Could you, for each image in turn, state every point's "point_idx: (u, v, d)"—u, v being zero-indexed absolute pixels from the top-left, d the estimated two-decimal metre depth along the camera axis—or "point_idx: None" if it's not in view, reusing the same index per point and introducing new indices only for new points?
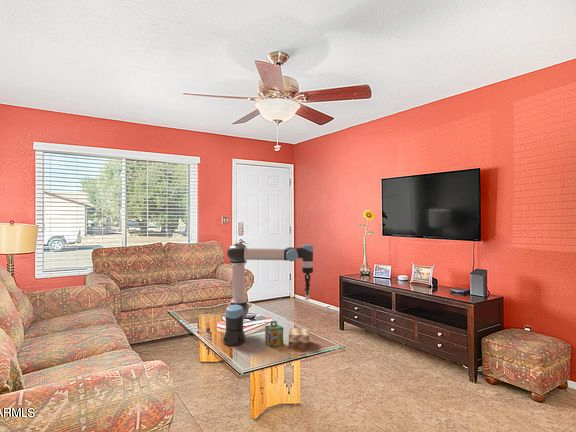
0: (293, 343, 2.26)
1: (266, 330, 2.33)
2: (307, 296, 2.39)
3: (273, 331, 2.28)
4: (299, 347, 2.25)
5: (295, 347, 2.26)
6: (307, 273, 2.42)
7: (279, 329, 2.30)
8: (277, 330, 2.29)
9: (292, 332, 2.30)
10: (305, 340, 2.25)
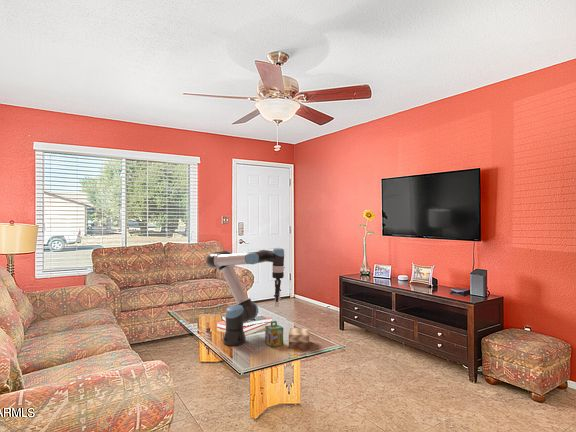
0: (293, 343, 2.26)
1: (266, 330, 2.33)
2: (277, 303, 2.27)
3: (273, 331, 2.28)
4: (299, 347, 2.25)
5: (295, 347, 2.26)
6: (277, 278, 2.31)
7: (279, 329, 2.30)
8: (277, 330, 2.29)
9: (292, 332, 2.30)
10: (305, 340, 2.25)
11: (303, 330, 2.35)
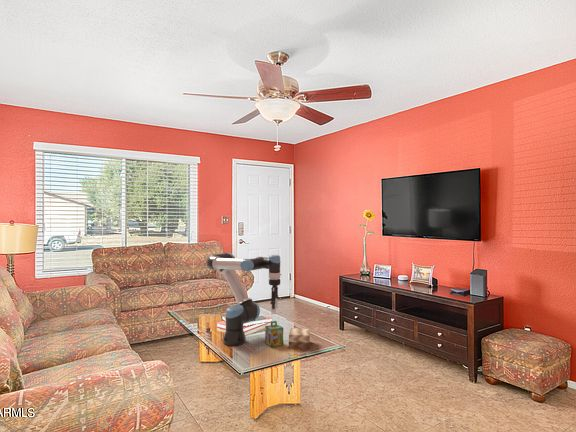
0: (293, 343, 2.26)
1: (266, 330, 2.33)
2: (273, 310, 2.26)
3: (273, 331, 2.28)
4: (299, 347, 2.25)
5: (295, 347, 2.26)
6: (273, 285, 2.29)
7: (279, 329, 2.30)
8: (277, 330, 2.29)
9: (292, 332, 2.30)
10: (305, 340, 2.25)
11: (303, 330, 2.34)
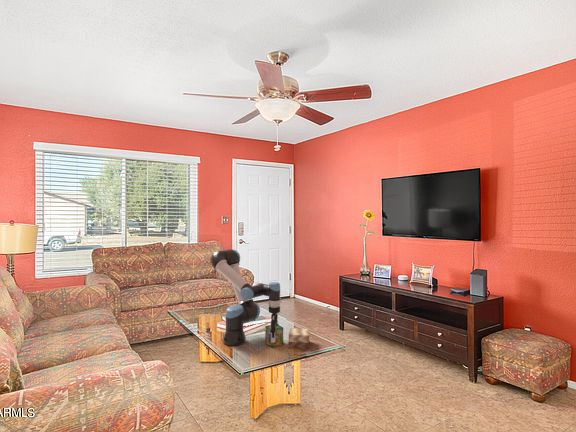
0: (293, 343, 2.26)
1: (266, 330, 2.33)
2: (273, 338, 2.26)
3: None
4: (299, 347, 2.25)
5: (295, 347, 2.26)
6: (273, 313, 2.29)
7: (279, 329, 2.30)
8: (277, 330, 2.29)
9: (292, 332, 2.30)
10: (305, 340, 2.25)
11: (303, 330, 2.35)
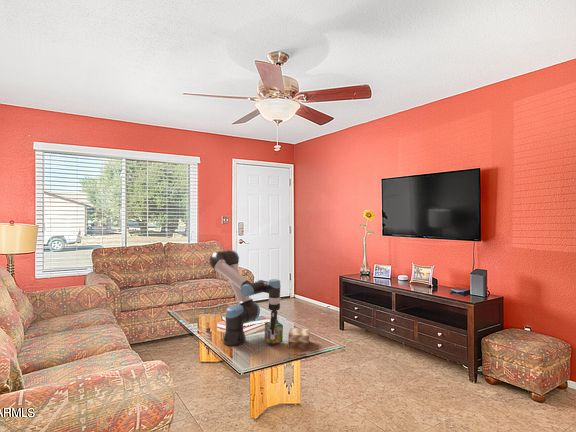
0: (293, 343, 2.26)
1: (266, 327, 2.33)
2: (272, 335, 2.26)
3: None
4: (299, 347, 2.25)
5: (295, 347, 2.26)
6: (273, 310, 2.29)
7: (278, 326, 2.30)
8: (277, 327, 2.29)
9: (292, 332, 2.31)
10: (305, 340, 2.25)
11: (303, 330, 2.34)
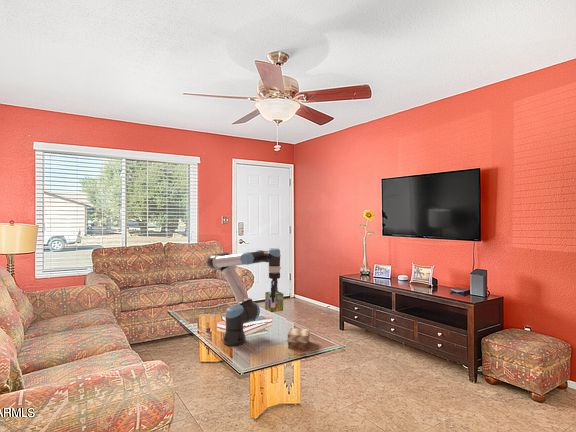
0: (292, 343, 2.25)
1: (266, 296, 2.33)
2: (273, 303, 2.26)
3: None
4: (298, 347, 2.25)
5: (294, 347, 2.25)
6: (273, 279, 2.29)
7: (279, 295, 2.30)
8: (277, 295, 2.29)
9: (291, 332, 2.31)
10: (304, 340, 2.25)
11: (303, 330, 2.34)
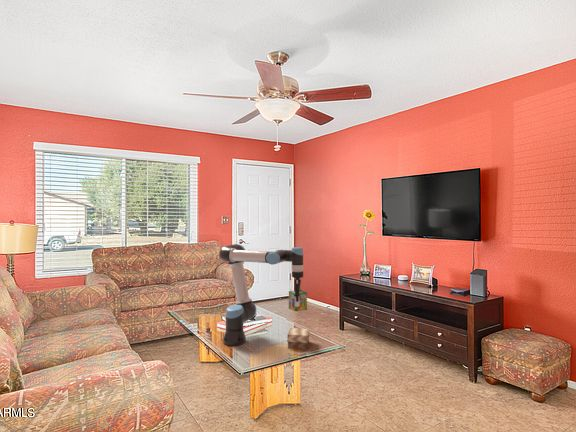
0: (292, 343, 2.25)
1: (290, 295, 2.31)
2: (297, 302, 2.25)
3: None
4: (298, 347, 2.25)
5: (294, 347, 2.25)
6: (297, 278, 2.28)
7: (302, 294, 2.28)
8: (301, 294, 2.28)
9: (291, 332, 2.31)
10: (304, 340, 2.25)
11: (303, 330, 2.34)
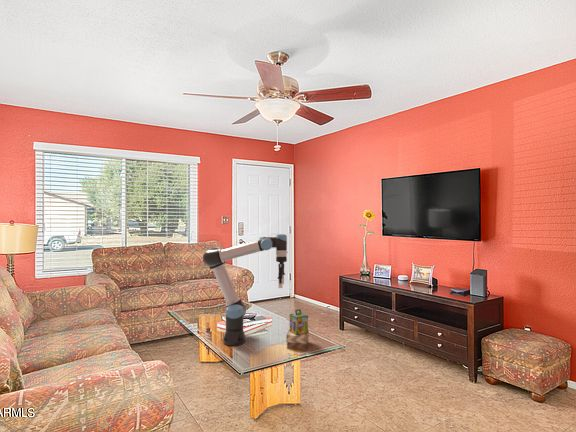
0: (291, 344, 2.25)
1: (291, 319, 2.31)
2: (280, 284, 2.43)
3: (298, 319, 2.26)
4: (297, 348, 2.25)
5: (293, 348, 2.25)
6: (280, 262, 2.47)
7: (304, 317, 2.29)
8: (302, 318, 2.28)
9: (290, 333, 2.30)
10: (303, 341, 2.24)
11: None
